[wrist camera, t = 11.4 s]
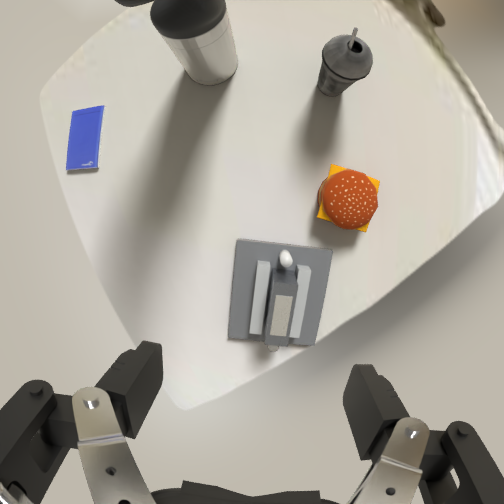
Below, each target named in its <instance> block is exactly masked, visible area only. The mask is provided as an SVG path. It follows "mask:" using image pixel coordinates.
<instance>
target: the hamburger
mask: <svg viewBox="0 0 504 504" xmlns="http://www.w3.org/2000/svg"><path fill="white" fill-rule="evenodd" d="M379 183H380V181H378V180H376V179H374V178H371V177H369V176H366V174H364V173H361V172H358V171H354V170H351V169H346V168H343V167H340V166H337V165H333V164H331V167H330V171H329V176H328V177H327V178H326V179H325V180H324V181H323V182H322V184H321V187H320V189H319V191H318V204H319V207H320V209H319V212H318V215H317V218H321V219H324V220H327V221H330V222H333V223H334V224H335V225H336V226H338V227H340V228H343V229H351V230H353V229H356V230H360V231H363V232H366V231H367V228H368V225H369V222H370V220H371V218H372V216H373V214H374V213H375V211H376V209H377V207H378V202H377V193H378V188H379Z"/></svg>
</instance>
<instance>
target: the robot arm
mask: <svg viewBox="0 0 504 504" xmlns="http://www.w3.org/2000/svg"><path fill="white" fill-rule="evenodd" d="M115 1H116V2H118V3H119V4H121V5H123V6H126V7H134V6H139V5H143V4H146V3H149V2H152V1H154V0H115ZM150 16H151V21H152V23H153V25H154V26H155V27H156V29H157V30H158V32H159V33H160V34H161V36H162V37H163V39H164V40H165V41H166V43H167V44H168V46H169V47H170V48H171V50H172V51H173V53H174V54H175V56H176V57H177V58H178V60H179V61H180V63H181V64H182V66H183V67H184V69H185V70H186V71H187V73H188V74H189V76H190V77H191V78H192V79H193V80H194V81H195V82H197V83H200V84H203V85H215V84H219V83H221V82H224V81H225V80H227V79H228V78H230V77H231V76H232V75H233V73H234V72H235V71H236V68H237V65H238V58H237V53H236V48H235V43H234V39H233V34H232V29H231V25H230V21H229V17H228V12H227V8H226V3H225V0H155V1H154V3H153V5H152V7H151V11H150ZM162 381H163V360H162V346H161V344H158V343H153V342H149V341H142V342H141V344H140V345H139V346H138V347H137V349H136V350H132V349H130V350H128V351H126V352H124V353H122V354H121V355H120V356H119V357H118V358H117V360H116V361H115V363H113V364H112V366H111V368H109V370H108V371H107V372H106V373H105V374H104V376H103V377H102V378H101V379H100V380H99V382H98V383H97V384H96V386H95V387H86V388H82V389H80V390H78V391H77V392H76V393H75V394H74V395H73V396H69V395H62V394H55V393H54V391H53V388H52V386H51V385H50V384H49V383H48V382H46V381H43V380H32V381H29V382H27V383H25V384H24V385H23V386H22V387H21V388H20V389H19V390H18V391H17V392H16V393H15V395H14V396H13V397H12V398H11V399H10V400H9V401H8V402H7V403H6V404H5V405H4V406H3V407H2V409H1V410H0V504H40V503H41V501H42V499H43V497H44V495H45V493H46V491H47V490H48V488H49V486H50V484H51V482H52V480H53V478H54V476H55V475H56V473H57V471H58V469H59V467H60V466H61V464H62V462H63V460H64V458H65V457H66V455H67V453H68V451H69V450H70V448H74V449H78V450H79V453H80V457H81V462H82V465H83V469H84V473H85V476H86V480H87V483H88V486H89V489H90V492H91V495H92V498H93V501H94V504H339V503H336V502H333V501H330V500H325V499H320V492H319V491H287V492H281V493H275V494H269V495H263V496H255V497H251V496H246V495H243V494H239V493H236V492H233V491H230V490H227V489H223V488H220V487H218V486H212V485H206V484H200V483H194V482H189V481H183V483H182V487H181V488H171V489H163V490H158V491H154V492H151V493H150V492H149V490H148V488H147V486H146V484H145V482H144V480H143V478H142V476H141V474H140V471H139V469H138V467H137V465H136V463H135V460H134V458H133V456H132V454H131V451H130V449H129V447H128V444H127V442H126V439H125V436H126V437H129V438H132V439H135V438H136V436H137V434H138V432H139V430H140V428H141V426H142V424H143V421H144V420H145V418H146V416H147V414H148V411H149V410H150V408H151V406H152V404H153V401H154V400H155V398H156V395H157V394H158V392H159V390H160V388H161V385H162ZM343 406H344V409H345V412H346V415H347V418H348V421H349V424H350V427H351V430H352V434H353V437H354V440H355V443H356V446H357V449H358V453H359V456H360V459H361V460H370V459H371V460H372V465H371V466H370V468H369V470H368V471H367V473H366V475H365V476H364V478H363V480H362V481H361V483H360V485H359V486H358V488H357V489H356V491H355V492H354V494H353V496H352V497H351V499H350V500H349V501H348V503H347V504H411V501H412V499H413V497H414V494H415V492H416V489H417V486H419V489H420V492H421V495H422V498H423V501H424V504H504V478H503V476H502V474H501V472H500V471H499V469H498V467H497V465H496V464H495V462H494V460H493V458H492V457H491V455H490V453H489V452H488V451H487V448H486V447H485V445H484V444H483V442H482V440H481V439H480V437H479V436H478V435H477V432H476V431H475V429H474V428H473V427H472V426H471V425H470V424H468V423H466V422H462V421H455V422H452V423H451V424H450V425H449V426H448V428H447V429H446V431H434V430H429V428H428V426H427V425H426V424H425V423H424V422H423V421H421V420H420V419H417V418H412V417H410V416H409V414H408V412H407V411H406V409H405V407H404V405H403V403H402V402H401V400H400V398H399V397H398V395H397V393H396V392H395V391H394V388H393V386H392V385H391V383H390V382H389V381H388V380H387V379H386V378H384V377H383V376H382V375H378V374H377V372H376V370H375V369H374V367H373V365H371V364H364V365H363V364H356V365H354V366H353V368H352V370H351V374H350V376H349V379H348V382H347V385H346V388H345V391H344V395H343ZM37 431H38V432H37ZM32 438H33V439H32ZM30 441H31V442H30ZM453 468H454V469H455V471H456V473H457V476H458V478H459V481H460V485H459V488H458V489H457V486H456V484H455V482H454V479H453V477H452V475H451V473H450V471H451V470H452V469H453Z"/></svg>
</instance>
